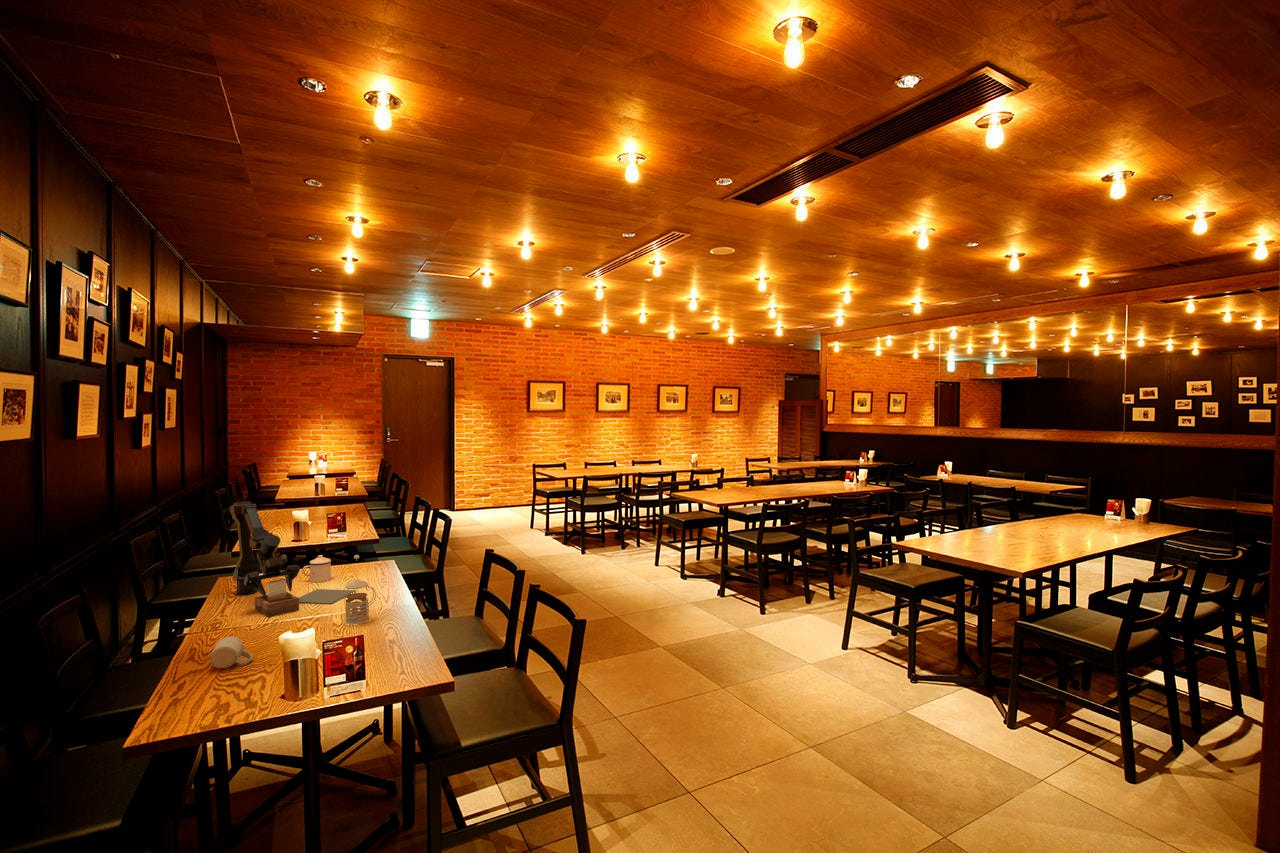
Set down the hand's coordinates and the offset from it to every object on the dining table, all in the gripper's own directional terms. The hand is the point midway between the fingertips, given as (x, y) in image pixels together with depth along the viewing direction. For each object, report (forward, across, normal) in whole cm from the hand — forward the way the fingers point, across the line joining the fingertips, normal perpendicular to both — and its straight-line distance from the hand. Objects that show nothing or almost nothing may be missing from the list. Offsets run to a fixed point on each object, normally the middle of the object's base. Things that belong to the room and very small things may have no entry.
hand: (278, 593), depth 238 cm
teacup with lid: (-19, +28, +29) cm, 45 cm away
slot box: (+4, 0, +6) cm, 7 cm away
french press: (+30, +16, -20) cm, 39 cm away
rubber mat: (+1, +19, +8) cm, 21 cm away
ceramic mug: (+37, -28, -26) cm, 54 cm away
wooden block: (+2, 0, +4) cm, 5 cm away
